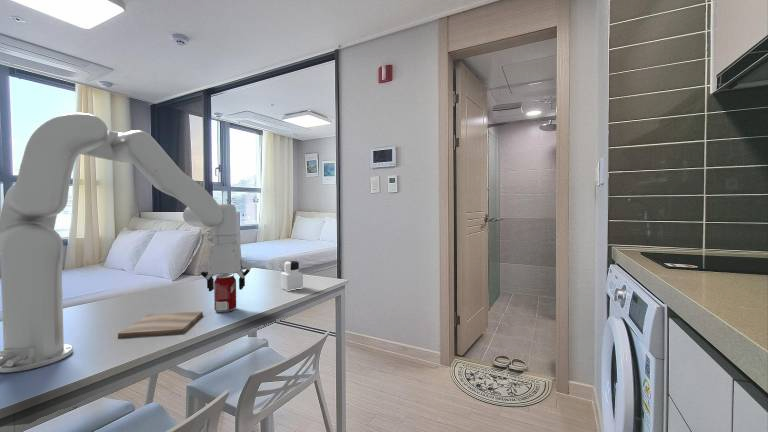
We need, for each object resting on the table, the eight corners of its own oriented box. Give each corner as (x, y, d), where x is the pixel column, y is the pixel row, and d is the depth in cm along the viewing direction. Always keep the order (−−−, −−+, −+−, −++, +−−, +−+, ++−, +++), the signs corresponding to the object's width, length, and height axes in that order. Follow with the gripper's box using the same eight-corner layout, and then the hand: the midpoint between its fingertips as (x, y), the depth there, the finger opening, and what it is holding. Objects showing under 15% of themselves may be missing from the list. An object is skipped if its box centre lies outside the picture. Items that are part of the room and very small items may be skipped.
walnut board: (182, 333, 92) (182, 329, 92) (117, 337, 89) (117, 333, 89) (202, 315, 108) (202, 311, 108) (148, 318, 105) (148, 314, 105)
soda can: (227, 314, 109) (227, 278, 109) (210, 312, 110) (209, 277, 110) (240, 307, 115) (240, 274, 115) (223, 306, 117) (223, 273, 116)
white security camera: (296, 286, 147) (295, 259, 147) (303, 289, 142) (302, 261, 141) (280, 288, 143) (280, 261, 142) (287, 292, 137) (287, 263, 137)
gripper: (193, 242, 107) (195, 294, 108) (249, 240, 110) (250, 290, 111) (201, 239, 114) (203, 288, 115) (253, 238, 118) (255, 285, 118)
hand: (226, 289), depth 113 cm, fingers open, 9 cm apart
